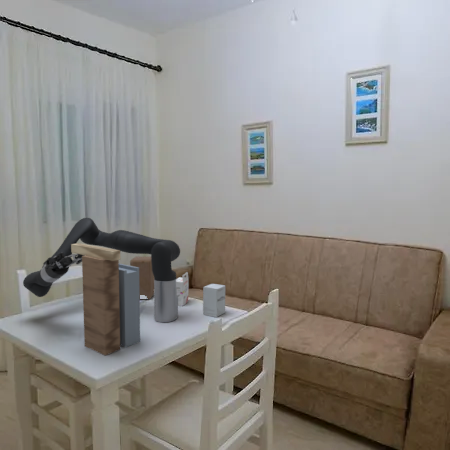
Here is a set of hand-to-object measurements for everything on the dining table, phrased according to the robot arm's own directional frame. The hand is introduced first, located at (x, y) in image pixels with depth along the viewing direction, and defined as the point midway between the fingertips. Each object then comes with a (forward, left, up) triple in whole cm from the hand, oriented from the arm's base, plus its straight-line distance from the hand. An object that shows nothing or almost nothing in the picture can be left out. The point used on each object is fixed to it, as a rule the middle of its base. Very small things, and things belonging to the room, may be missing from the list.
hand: (74, 253), depth 139 cm
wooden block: (-49, -20, -32) cm, 62 cm away
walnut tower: (0, +16, -31) cm, 35 cm away
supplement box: (-52, +24, -32) cm, 65 cm away
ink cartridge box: (-54, +2, -32) cm, 63 cm away
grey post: (-8, +16, -31) cm, 36 cm away
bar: (0, +13, +1) cm, 13 cm away
